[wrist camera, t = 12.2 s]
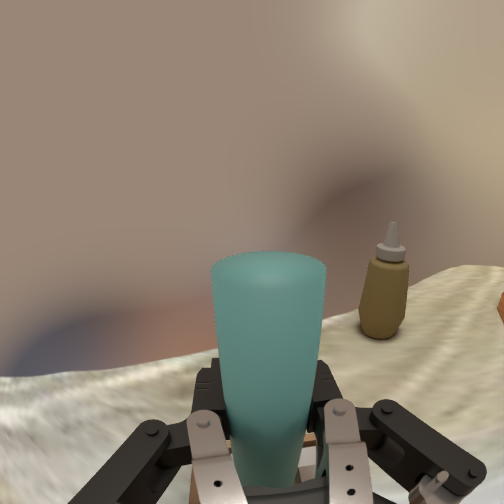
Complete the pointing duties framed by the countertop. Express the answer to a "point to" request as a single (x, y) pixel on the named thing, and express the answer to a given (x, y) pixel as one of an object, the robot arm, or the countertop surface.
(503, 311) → the whiskey bottle
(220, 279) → the dowel
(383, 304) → the squeeze bottle
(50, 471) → the countertop surface
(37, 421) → the countertop surface
